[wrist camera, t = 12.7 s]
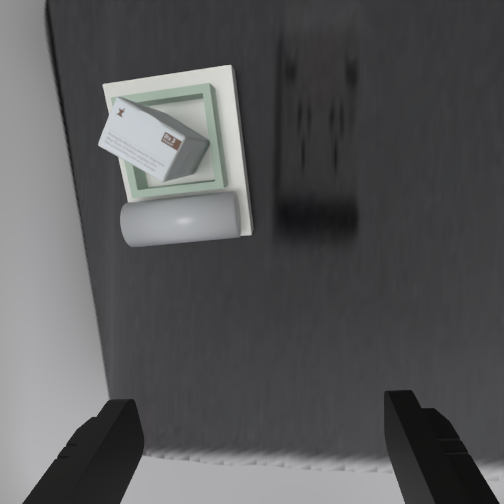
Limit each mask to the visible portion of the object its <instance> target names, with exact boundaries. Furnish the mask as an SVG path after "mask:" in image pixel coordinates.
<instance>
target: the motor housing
mask: <svg viewBox="0 0 504 504" xmlns="http://www.w3.org/2000/svg"><path fill="white" fill-rule="evenodd" d="M205 83H210V84H211V85H212V86H213V87H215V90H216V98H217V105H218V112H219V120H220V127H221V135H222V142H223V150H224V157H225V164H226V172H227V179H228V186H227V187H225V188H222V189H213V190H204V191H195V192H186V193H177V194H168V195H159V196H150V197H141V198H132V196H131V191H130V186H129V181H128V177H127V172H126V167H125V163H124V160H123V159H121V158H120V157H119V162H120V167H121V171H122V176H123V180H124V185H125V190H126V194H127V199H128V203H125V204H124V206H123V207H122V210H121V215H120V223H121V230H122V234H123V236H124V239H125V241H126V242H127V244H128V245H129V246H131V247H142V246H153V245H163V244H174V243H185V242H195V241H206V240H217V239H227V238H238V237H240V236H244V235H252V232H253V230H254V227H253V219H252V210H251V202H250V194H249V185H248V177H247V168H246V160H245V151H244V143H243V135H242V126H241V118H240V109H239V101H238V92H237V84H236V75H235V70H234V69H233V67H232V65H226V66H219V67H213V68H206V69H200V70H193V71H187V72H180V73H174V74H167V75H160V76H154V77H147V78H141V79H134V80H128V81H121V82H115V83H108V84H103V88H104V93H105V97H106V102H107V107H108V111H109V115H110V112H111V110H112V108H113V106H112V102H111V97H117V96H124V95H131V94H137V93H144V92H151V91H158V90H164V89H171V88H178V87H185V86H191V85H198V84H205ZM147 107H150V108H153V109H156V110H159V111H161V112H164V113H166V114H168V115H169V116H171V117H173V118H174V119H176V120H178V121H179V122H181V123H183V124H184V125H186V126H188V127H189V128H191V129H192V130H194V131H196V132H197V133H199V134H200V135H202V136H204V137H205V138H207V139H208V140H209V134H208V127H207V120H206V113H205V106H204V99H203V98H201V99H194V100H187V101H180V102H173V103H166V104H159V105H152V106H147ZM145 174H146V179H147V184H148V187H154V186H163V185H172V184H180V183H189V182H198V181H207V180H215V176H214V169H213V162H212V155H211V148H210V146H209V147H208V149H207V151H206V153H205V155H204V157H203V158H202V160H201V162H200V164H199V166H198V168H197V170H196V172H195V174H192V175H189V176H185V177H181V178H177V179H173V180H170V181H166V182H162V181H160V180H158V179H157V178H155V177H153V176H151V175H150V174H148V173H146V172H145Z"/></svg>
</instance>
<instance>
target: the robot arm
mask: <svg viewBox="0 0 504 504" xmlns="http://www.w3.org/2000/svg"><path fill="white" fill-rule="evenodd" d="M384 429H385V441H386V446H387V451H388V454H389V457H390V460H391V463H392V466H393V469H394V472H395V475H396V478H397V481H398V484H399V487H400V489H401V493H402V496H403V498H404V501H405V504H499V502H498V500H497V499H496V497H495V495H494V494H493V492H492V490H491V489H490V487H489V485H488V484H487V482H486V480H485V479H484V477H483V475H482V474H481V472H480V470H479V469H478V467H477V466H476V464H475V462H474V461H473V459H472V457H471V456H470V455H469V454H468V451H467V449H466V447H465V446H464V444H463V442H462V441H460V437H459V436H458V434H457V433H456V431H455V429H454V428H453V426H452V424H451V423H450V421H449V420H447V419H446V418H445V417H444V416H443V415H442V414H440V413H439V412H438V411H437V410H436V409H434V408H421V406H420V404H419V402H418V400H417V399H416V397H415V395H414V393H413V392H412V391H411V390H398V391H385V393H384ZM143 449H144V435H143V431H142V427H141V423H140V419H139V414H138V410H137V406H136V403H135V401H134V400H133V399H116V400H109V401H108V402H107V403H106V404H105V405H104V407H103V408H102V410H101V411H100V412H99V414H98V415H97V417H92V418H90V419H89V420H88V421H87V422H85V423H84V424H83V425H82V426H81V427H79V428H78V429H77V430H76V432H75V433H74V434H73V436H72V437H71V438H70V440H69V441H68V443H67V444H66V447H64V448H63V449H62V451H61V452H60V453H59V455H58V457H57V459H55V460H54V461H53V463H52V464H51V466H50V467H49V468H48V470H47V471H46V472H45V474H44V475H43V476H42V478H41V479H40V480H39V482H38V484H37V485H36V486H35V487H34V489H33V490H32V491H31V493H30V494H29V495H28V497H27V498H26V499H25V501H24V502H23V504H120V502H121V500H122V498H123V496H124V494H125V492H126V489H127V487H128V485H129V483H130V481H131V479H132V476H133V474H134V472H135V470H136V468H137V466H138V463H139V461H140V459H141V457H142V454H143Z"/></svg>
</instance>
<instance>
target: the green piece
mask: <svg viewBox="0 0 504 504" xmlns="http://www.w3.org/2000/svg"><path fill="white" fill-rule="evenodd" d="M117 97H122V98H125V99H128V100H131V101H133V102H136V103H139V104H141V105H144V106H152V105H159V104H166V103H173V102H180V101H187V100H194V99H201V98H203V99H204V106H205V113H206V120H207V127H208V134H209V141H210V148H211V155H212V162H213V169H214V176H215V180H207V181H198V182H189V183H180V184H172V185H163V186H154V187H148V184H147V179H146V174H145V172H144V171H142V170H141V169H139V168H137V167H135V166H134V165H132V164H130V163H128V162H127V161H125V160H124V163H125V167H126V172H127V177H128V181H129V186H130V191H131V196H132V198H141V197H150V196H159V195H168V194H177V193H186V192H195V191H204V190H213V189H222V188H225V187H227V186H228V179H227V172H226V164H225V157H224V150H223V142H222V135H221V127H220V120H219V112H218V105H217V98H216V90H215V87H213V86H212V85H211V84H210V83H205V84H198V85H191V86H185V87H178V88H171V89H164V90H158V91H151V92H144V93H137V94H131V95H124V96H117ZM117 97H111V102H112V106H113V105H114V103H115V100H116V98H117Z"/></svg>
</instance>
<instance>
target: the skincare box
mask: <svg viewBox="0 0 504 504" xmlns="http://www.w3.org/2000/svg"><path fill="white" fill-rule="evenodd" d="M98 145H99V146H100V147H102V148H104V149H105V150H107V151H109V152H111V153H113V154H114V155H116V156H118V157H120V158H121V159H123V160H125V161H127V162H128V163H130V164H132V165H134V166H135V167H137V168H139V169H141V170H142V171H144V172H146V173H148V174H150V175H151V176H153V177H155V178H157V179H158V180H160V181H162V182H166V181H170V180H173V179H177V178H181V177H185V176H189V175H192V174H195V172H196V170H197V168H198V166H199V164H200V162H201V160H202V158H203V157H204V155H205V153H206V151H207V149H208V147H209V146H210V141H209V140H208V139H207V138H205V137H204V136H202V135H200V134H199V133H197V132H196V131H194V130H192V129H191V128H189V127H188V126H186V125H184V124H183V123H181V122H179V121H178V120H176V119H174V118H173V117H171V116H169V115H168V114H166V113H164V112H161V111H159V110H156V109H153V108H150V107H147V106H144V105H141V104H139V103H136V102H133V101H131V100H128V99H125V98H122V97H117V98H116V100H115V103H114V105H113V108H112V110H111V112H110V115H109V117H108V120H107V122H106V125H105V127H104V130H103V132H102V135H101V138H100V141H99V143H98Z"/></svg>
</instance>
